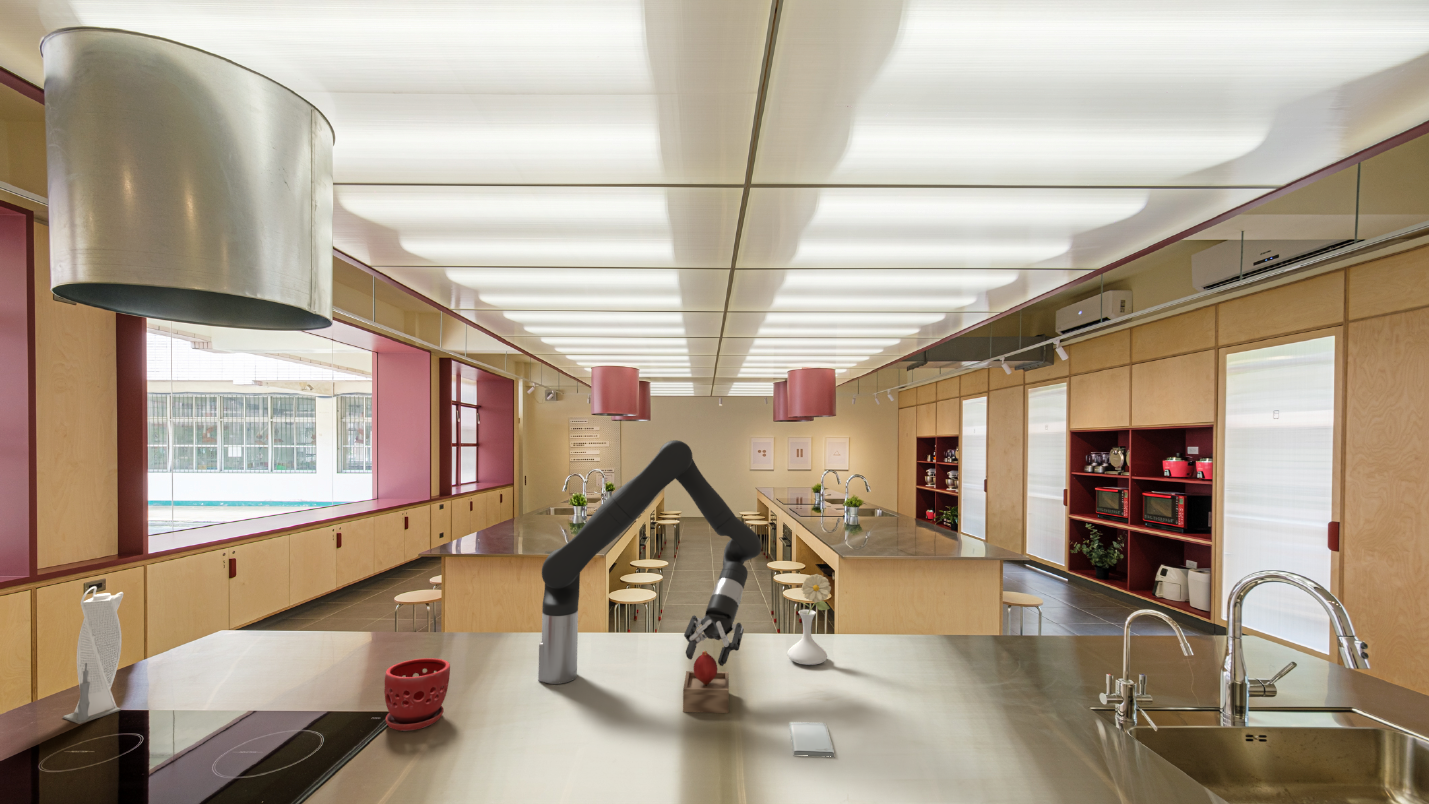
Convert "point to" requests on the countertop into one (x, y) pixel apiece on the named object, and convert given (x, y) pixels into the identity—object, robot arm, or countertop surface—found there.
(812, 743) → the hard drive
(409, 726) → the plant pot
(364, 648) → the countertop surface
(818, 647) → the flower in vase
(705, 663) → the onion
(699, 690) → the wooden tray
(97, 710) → the skyscraper
